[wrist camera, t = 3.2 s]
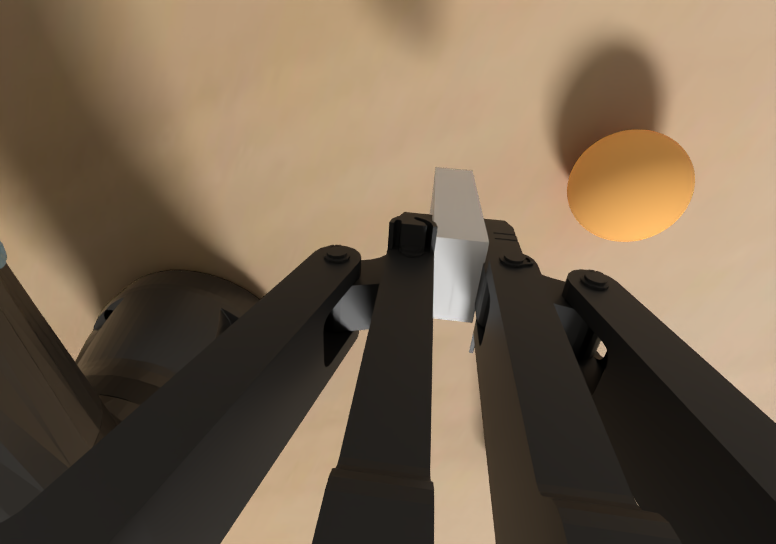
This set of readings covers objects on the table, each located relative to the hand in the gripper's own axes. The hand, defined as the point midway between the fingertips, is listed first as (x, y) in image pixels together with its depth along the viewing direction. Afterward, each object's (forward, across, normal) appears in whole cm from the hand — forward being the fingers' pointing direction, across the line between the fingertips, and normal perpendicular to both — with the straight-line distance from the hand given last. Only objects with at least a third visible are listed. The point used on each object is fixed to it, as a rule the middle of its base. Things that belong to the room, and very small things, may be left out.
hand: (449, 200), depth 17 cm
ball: (+5, +9, 0) cm, 10 cm away
